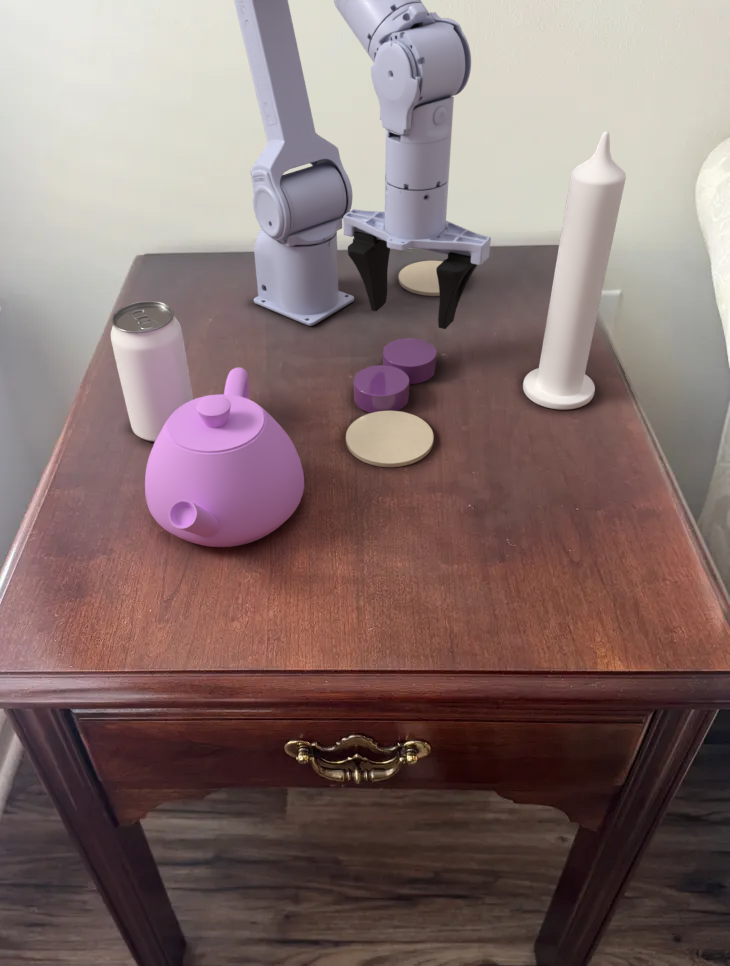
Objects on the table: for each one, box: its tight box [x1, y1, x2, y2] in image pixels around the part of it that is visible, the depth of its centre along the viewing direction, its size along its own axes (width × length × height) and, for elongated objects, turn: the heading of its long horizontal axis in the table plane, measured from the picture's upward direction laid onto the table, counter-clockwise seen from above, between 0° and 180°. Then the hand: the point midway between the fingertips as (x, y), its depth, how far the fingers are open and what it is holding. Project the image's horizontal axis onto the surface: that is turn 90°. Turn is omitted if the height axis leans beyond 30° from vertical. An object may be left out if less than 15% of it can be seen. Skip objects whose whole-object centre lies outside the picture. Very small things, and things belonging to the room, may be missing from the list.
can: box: [110, 300, 194, 443], centre depth 81 cm, size 6×6×12 cm
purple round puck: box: [382, 337, 438, 385], centre depth 90 cm, size 6×6×2 cm
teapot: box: [144, 366, 305, 548], centre depth 72 cm, size 14×20×11 cm
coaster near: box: [345, 410, 435, 468], centre depth 82 cm, size 8×8×1 cm
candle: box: [522, 131, 627, 411], centre depth 78 cm, size 7×7×25 cm
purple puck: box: [353, 364, 410, 414], centre depth 86 cm, size 6×6×2 cm
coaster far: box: [397, 260, 444, 297], centre depth 105 cm, size 8×8×1 cm
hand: (411, 315), depth 86 cm, fingers open, 7 cm apart
